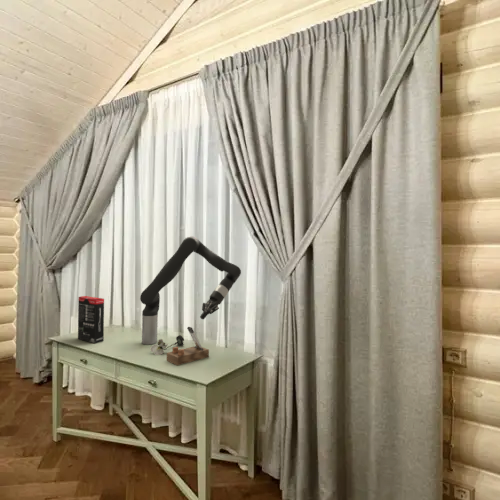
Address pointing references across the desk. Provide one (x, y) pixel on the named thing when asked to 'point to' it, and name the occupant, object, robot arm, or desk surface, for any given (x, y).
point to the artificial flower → (159, 349)
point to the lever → (194, 337)
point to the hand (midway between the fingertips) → (201, 318)
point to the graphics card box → (91, 319)
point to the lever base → (186, 355)
